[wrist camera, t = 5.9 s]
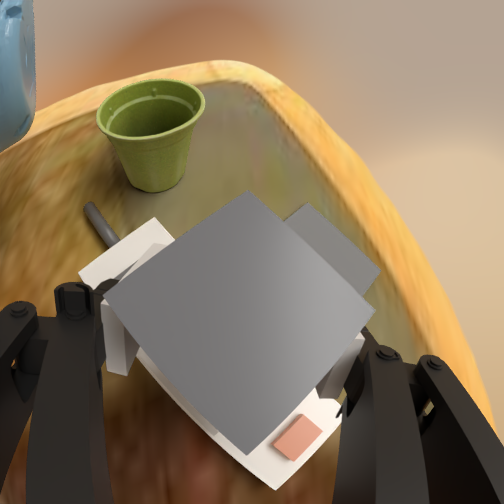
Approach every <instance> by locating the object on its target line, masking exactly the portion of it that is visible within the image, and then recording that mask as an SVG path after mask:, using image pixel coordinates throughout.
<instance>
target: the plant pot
mask: <svg viewBox="0 0 504 504" xmlns="http://www.w3.org/2000/svg"><path fill="white" fill-rule="evenodd" d="M204 109H205V98H204V96H203V94H202V93H201V91H200V90H199V89H197V88H196V87H194V86H193V85H191V84H189V83H186V82H183V81H179V80H174V79H149V80H144V81H140V82H136V83H133V84H130V85H127V86H125V87H123V88H121V89H119V90H117V91H115V92H114V93H112V94H111V95H110V96H108V97H107V98H106V99H105V100H104V101H103V103H102V104H101V105H100V107H99V109H98V111H97V114H96V122H97V125H98V127H99V129H100V130H101V131H102V132H103V133H104V134H105V135H107V138H108V139H109V140H110V142H112V144H113V146H114V148H115V150H116V152H117V155H118V157H119V159H120V161H121V164H122V166H123V168H124V170H125V173H126V175H127V177H128V179H129V181H130V183H131V184H132V185H133V186H134V187H136V188H139V189H141V190H144V191H146V192H151V193H153V192H161V191H165V190H167V189H169V188H171V187H173V186H175V185H176V184H177V183H178V181H179V180H180V179H181V177H182V176H183V174H184V172H185V167H186V161H187V156H188V150H189V145H190V140H191V136H192V131H193V128H194V127H195V125H196V123H197V120H198V119H199V118H200V117H201V115H202V113H203V111H204Z"/></svg>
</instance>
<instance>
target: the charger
mask: <svg viewBox="0 0 504 504" xmlns="http://www.w3.org/2000/svg"><path fill="white" fill-rule="evenodd" d="M103 297H104V298H105V300H106V301H107V303H108V304H109V306H110V307H111V308H112V310H113V311H114V313H115V314H116V315H117V317H118V318H119V319H120V321H121V322H122V324H123V325H124V326H125V328H126V329H127V330H128V331H129V333H130V334H131V335H132V337H133V338H134V339H135V341H136V342H137V343H138V344H139V346H140V347H141V348H142V349H143V351H144V352H145V353H146V354H147V355H148V357H149V358H150V359H151V360H152V361H153V363H154V364H155V365H156V366H157V367H158V368H159V370H160V371H161V372H162V373H163V374H164V375H165V376H166V378H167V379H168V380H169V381H170V382H171V383H172V384H173V385H174V386H175V388H176V389H177V390H178V391H179V392H180V393H181V394H182V395H183V396H184V397H185V398H186V399H187V400H188V401H189V402H190V403H191V404H192V406H193V407H194V408H195V409H196V410H197V411H198V412H199V413H200V414H201V415H202V416H203V417H204V418H205V419H207V420H208V421H209V422H210V423H211V424H212V425H213V426H214V427H215V428H216V429H217V430H218V431H219V432H220V433H221V434H222V435H223V436H225V437H226V438H227V439H228V440H229V441H230V442H231V443H232V444H233V445H235V446H236V447H237V448H238V449H239V450H240V451H242V452H243V453H244V454H245V455H246V456H247V455H248V454H249V453H251V452H252V451H253V450H254V449H255V448H256V447H257V446H258V445H259V444H260V443H261V442H262V441H263V440H265V439H266V438H267V437H268V436H269V435H270V434H271V433H272V432H273V431H274V430H275V429H276V428H277V427H278V426H279V425H280V424H281V423H282V422H283V421H284V420H285V419H286V418H287V417H288V416H289V415H290V414H291V413H292V412H293V411H294V410H295V408H296V407H297V406H298V405H299V404H300V403H301V402H302V401H303V400H304V399H305V398H306V397H307V396H308V394H309V393H310V392H311V391H312V390H313V389H314V388H315V387H316V385H317V384H318V383H319V382H320V381H321V380H322V379H323V377H324V376H325V375H326V374H327V373H328V372H329V370H330V369H331V368H332V367H333V366H334V364H335V363H336V362H337V361H338V359H339V358H340V357H341V356H342V354H343V353H344V352H345V351H346V349H347V348H348V347H349V346H350V344H351V343H352V342H353V340H354V339H355V338H356V336H357V335H358V334H359V333H360V331H361V330H362V328H363V327H364V326H365V324H366V323H367V322H368V320H369V319H370V318H371V316H372V315H373V313H374V312H375V309H374V308H373V307H372V306H371V305H370V304H369V303H368V302H367V301H366V300H365V299H364V298H363V297H362V296H361V295H360V294H359V293H358V292H357V291H356V290H355V289H354V288H353V287H352V286H351V285H350V284H349V283H348V282H346V281H345V280H344V279H343V278H342V277H341V276H340V275H339V274H338V273H337V272H336V271H335V270H334V269H333V268H332V267H331V266H330V265H329V264H328V263H327V262H326V261H325V260H324V259H323V258H322V257H321V256H320V255H319V254H318V253H317V252H315V251H314V250H313V249H312V248H311V247H310V246H309V245H308V244H307V243H306V242H305V241H304V240H303V239H302V238H301V237H300V236H298V235H297V234H296V233H295V232H294V231H293V230H292V229H291V228H290V227H289V226H288V225H287V224H286V223H284V222H283V221H282V220H281V219H280V218H279V217H278V216H277V215H276V214H275V213H274V212H272V211H271V210H270V209H269V208H268V207H267V206H266V205H265V204H264V203H262V202H261V201H260V200H259V199H258V198H257V197H256V196H255V195H254V194H252V193H251V192H250V191H249V190H247V191H246V192H244V193H243V194H241V195H240V196H238V197H237V198H235V199H234V200H232V201H231V202H229V203H228V204H226V205H225V206H223V207H222V208H220V209H219V210H217V211H216V212H215V213H213V214H212V215H210V216H209V217H207V218H206V219H204V220H203V221H202V222H200V223H199V224H197V225H196V226H194V227H193V228H192V229H190V230H189V231H187V232H186V233H185V234H183V235H182V236H180V237H179V238H178V239H176V240H175V241H173V242H172V243H171V244H169V245H168V246H167V247H165V248H164V249H162V250H161V251H160V252H158V253H157V254H156V255H154V256H153V257H152V258H150V259H149V260H148V261H146V262H145V263H144V264H142V265H141V266H140V267H138V268H137V269H136V270H134V271H133V272H132V273H130V274H129V275H128V276H126V277H125V278H124V279H123V280H121V281H120V282H119V283H117V284H116V285H115V286H114V287H112V288H111V289H110V290H108V291H107V292H106V293H105V294H103Z"/></svg>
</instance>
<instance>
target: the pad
mask: <svg viewBox="0 0 504 504" xmlns="http://www.w3.org/2000/svg"><path fill="white" fill-rule="evenodd" d="M284 223H286V224H287V225H288V226H289V227H290V228H291V229H292V230H293V231H294V232H295V233H296V234H297V235H298V236H300V237H301V238H302V239H303V240H304V241H305V242H306V243H307V244H308V245H309V246H310V247H311V248H312V249H313V250H314V251H315V252H317V253H318V254H319V255H320V256H321V257H322V258H323V259H324V260H325V261H326V262H327V263H328V264H329V265H330V266H331V267H332V268H333V269H334V270H335V271H336V272H337V273H338V274H339V275H340V276H341V277H342V278H343V279H344V280H345V281H346V282H348V283H349V284H350V285H351V286H352V287H353V288H354V289H355V290H356V291H357V292H358V293H359V294H360V295H361V296H363V295H364V293H365V292H366V291H367V289H368V288H369V287H370V285H371V284H372V283H373V281H374V280H375V278H376V277H377V276H378V274H379V273H380V272H381V270H380V269H379V268H378V267H377V266H376V265H375V264H374V263H373V262H372V261H371V260H370V259H369V258H368V257H367V256H366V255H365V254H364V253H363V252H362V251H361V250H360V249H358V248H357V247H356V246H355V245H354V244H353V243H352V242H351V241H350V240H349V239H348V238H347V237H346V236H345V235H343V234H342V233H341V232H340V231H339V230H338V229H337V228H336V227H335V226H334V225H333V224H331V223H330V222H329V221H328V220H327V219H326V218H325V217H324V216H322V215H321V214H320V213H319V212H318V211H317V210H316V209H315V208H313V207H312V206H311V205H310V204H309V203H308V202H307V203H306V204H305V205H304V206H302V207H301V208H300V209H299V210H297V211H296V212H295V213H294V214H292V215H291V216H290V217H289V218H288V219H286V220H285V221H284Z"/></svg>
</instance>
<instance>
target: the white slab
mask: <svg viewBox="0 0 504 504" xmlns="http://www.w3.org/2000/svg"><path fill="white" fill-rule="evenodd" d="M83 210H84V212H85V213H86V215H87V216H88V218H89V219H90V221H91V222H92V224H93V225H94V227H95V228H96V230H97V231H98V233H99V234H100V236H101V237H102V239H103V240H104V242H105V243H106V244H107V246H108V247H109V249H108V250H107V251H106V252H104V253H103V254H102V255H100V256H99V257H98V258H96V259H95V260H94V261H92V262H91V263H90V264H88V265H87V266H86V267H85V268H83V269H82V270H81V271H79V272H78V274H79V275H80V277H81V278H82V280H83V282H84V283H85V284H87V285H89V286H91V287H92V288H93V290H94V289H96V287H97V286H98V285H99V284H100V283H101V282H103V281H105V280H107V279H110V278H112V279H117V280H121V279H122V278H123V277H124V275H125V274H126V273H127V272H128V271H129V270H130V269H131V268H132V266H133V265H134V264H135V263H136V262H137V261H138V260H139V259H140V258H141V256H142V255H143V254H144V253H145V252H146V251H147V250H148V249H149V248H150V247H151V246H152V244H153V243H157V244H163V245H169V244H171V243H172V242H173V241H175V239H174V238H173V237H172V236H171V235H170V234H169V233H168V232H167V231H166V229H165V228H164V227H163V226H162V225H161V224H160V223H159V222H158V220H157V219H156V218H155V217H154V218H152V219H151V220H149V221H148V222H146V223H145V224H144V225H142V226H141V227H139V228H138V229H136V230H135V231H133V232H132V233H131V234H129V235H128V236H126V237H125V238H124V239H122V240H120V239H119V238H118V236H117V235H116V234H115V232H114V231H113V230H112V228H111V227H110V225H109V224H108V223H107V221H106V220H105V219H104V217H103V216H102V214H101V213H100V211H99V210H98V209H97V207H96V206H95V204H94V203H93V202H88V203H86V204H85V206H84V208H83ZM136 357H137V358H138V359H139V361H140V362H141V363H142V364H143V365H144V367H145V368H146V369H147V370H148V371H149V373H150V374H151V375H152V376H153V377H154V378H155V380H156V381H157V382H158V383H159V384H160V385H161V386H162V388H163V389H164V390H165V391H166V392H167V393H168V394H169V395H170V396H171V398H172V399H173V400H174V401H175V402H176V403H177V404H178V405H179V406H180V407H181V408H182V409H183V410H184V411H185V412H186V413H187V414H188V415H189V416H190V417H191V418H192V419H193V420H194V421H195V422H196V423H197V424H198V425H199V426H200V427H201V428H202V429H203V430H204V431H205V432H206V433H207V434H208V435H209V436H210V437H211V438H212V439H213V440H214V441H215V442H217V443H218V444H219V445H220V446H221V447H222V448H223V449H224V450H225V451H227V452H228V453H229V454H230V455H231V456H232V457H234V458H235V459H236V460H237V461H238V462H239V463H241V464H242V465H243V466H244V467H245V468H247V469H248V470H249V471H250V472H252V473H253V474H254V475H255V476H257V477H258V478H259V479H261V480H262V481H263V482H265V483H266V484H267V485H269V486H270V487H271V488H273V489H274V490H277V489H278V488H279V487H280V486H281V485H282V484H283V483H284V482H285V481H286V480H287V479H289V478H290V477H291V476H292V475H293V474H294V473H295V472H296V471H297V470H298V469H299V468H300V467H301V466H302V465H303V464H304V463H305V462H306V461H307V460H308V459H309V458H310V457H311V456H312V455H313V454H314V452H315V451H316V450H317V449H318V448H319V447H320V446H321V445H322V444H323V443H324V442H325V440H326V439H327V438H328V437H329V436H330V435H331V434H332V432H333V431H334V430H335V429H336V428H337V427H338V425H339V424H340V423H341V421H342V414H340V416H339V417H338V418H335V417H336V414H337V413H338V411H339V409H340V407H341V405H340V404H339V403H337V402H336V401H335V400H334V399H319V397H318V394H317V391H316V388H314V389H313V390H312V391H311V392H310V393H309V394H308V396H307V397H306V398H305V399H304V400H303V401H302V402H301V403H300V404H299V405H298V406H297V407H296V408H295V410H294V411H293V412H292V413H291V414H290V415H289V416H288V417H287V418H286V419H285V420H284V421H283V422H282V423H281V424H280V425H279V426H278V427H277V428H276V429H275V430H274V431H273V432H272V433H271V434H270V435H269V436H268V437H267V438H266V439H265V440H263V441H262V442H261V443H260V444H259V445H258V446H257V447H256V448H255V449H254V450H253V451H252V452H251V453H249V454H248V455H247V456H246V455H245V454H244V453H243V452H242V451H240V450H239V449H238V448H237V447H236V446H235V445H233V444H232V443H231V442H230V441H229V440H228V439H227V438H226V437H225V436H223V435H222V434H221V433H220V432H219V431H218V430H217V429H216V428H215V427H214V426H213V425H212V424H211V423H210V422H209V421H208V420H207V419H205V418H204V417H203V416H202V415H201V414H200V413H199V412H198V411H197V410H196V409H195V408H194V407H193V406H192V404H191V403H190V402H189V401H188V400H187V399H186V398H185V397H184V396H183V395H182V394H181V393H180V392H179V391H178V390H177V389H176V388H175V386H174V385H173V384H172V383H171V382H170V381H169V380H168V379H167V378H166V376H165V375H164V374H163V373H162V372H161V371H160V370H159V368H158V367H157V366H156V365H155V364H154V363H153V361H152V360H151V359H150V358H149V357H148V355H147V354H146V353H145V352H144V351H143V349H142V348H141V347H140V348H139V350H138V352H137V354H136Z"/></svg>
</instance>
